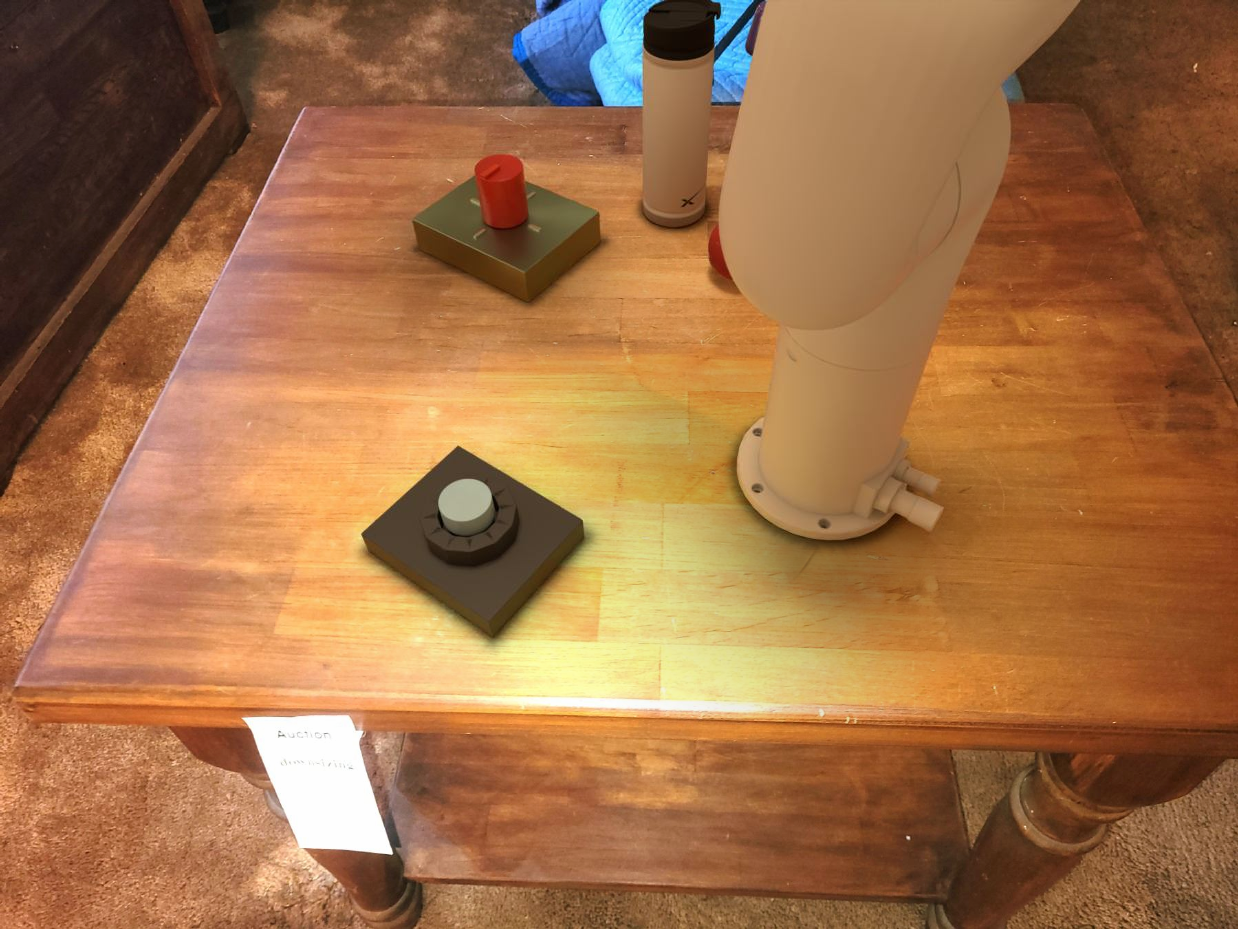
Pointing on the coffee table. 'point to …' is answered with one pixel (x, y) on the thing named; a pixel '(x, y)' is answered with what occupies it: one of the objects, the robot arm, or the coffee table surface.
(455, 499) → the button
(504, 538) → the button box
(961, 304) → the coffee table surface
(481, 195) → the tap knob
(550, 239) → the panel
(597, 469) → the coffee table surface
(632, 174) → the coffee table surface
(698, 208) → the travel mug
